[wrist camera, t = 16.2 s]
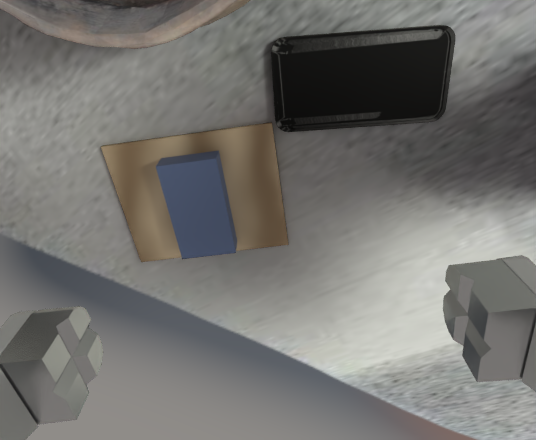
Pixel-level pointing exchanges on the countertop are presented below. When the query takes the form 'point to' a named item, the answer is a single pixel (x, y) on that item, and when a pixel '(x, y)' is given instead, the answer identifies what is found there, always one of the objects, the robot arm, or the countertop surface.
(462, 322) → the robot arm
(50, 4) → the ceramic bowl
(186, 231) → the box
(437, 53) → the phone
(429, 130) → the countertop surface
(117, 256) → the countertop surface
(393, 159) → the countertop surface
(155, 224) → the mat
